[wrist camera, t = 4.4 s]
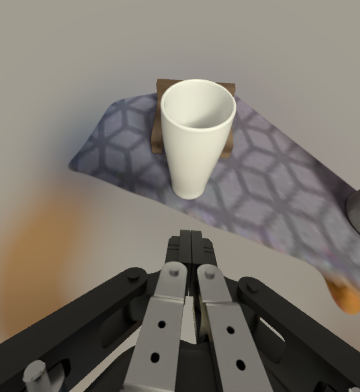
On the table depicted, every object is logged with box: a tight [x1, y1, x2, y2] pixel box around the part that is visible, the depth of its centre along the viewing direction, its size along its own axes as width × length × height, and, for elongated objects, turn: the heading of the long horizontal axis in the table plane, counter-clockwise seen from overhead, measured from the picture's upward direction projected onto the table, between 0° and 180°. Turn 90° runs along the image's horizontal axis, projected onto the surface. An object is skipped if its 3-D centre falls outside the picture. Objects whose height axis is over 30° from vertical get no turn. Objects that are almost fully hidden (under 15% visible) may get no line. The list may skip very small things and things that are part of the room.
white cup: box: [160, 79, 236, 199], centre depth 23 cm, size 7×7×15 cm
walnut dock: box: [151, 79, 235, 158], centre depth 32 cm, size 11×13×6 cm
